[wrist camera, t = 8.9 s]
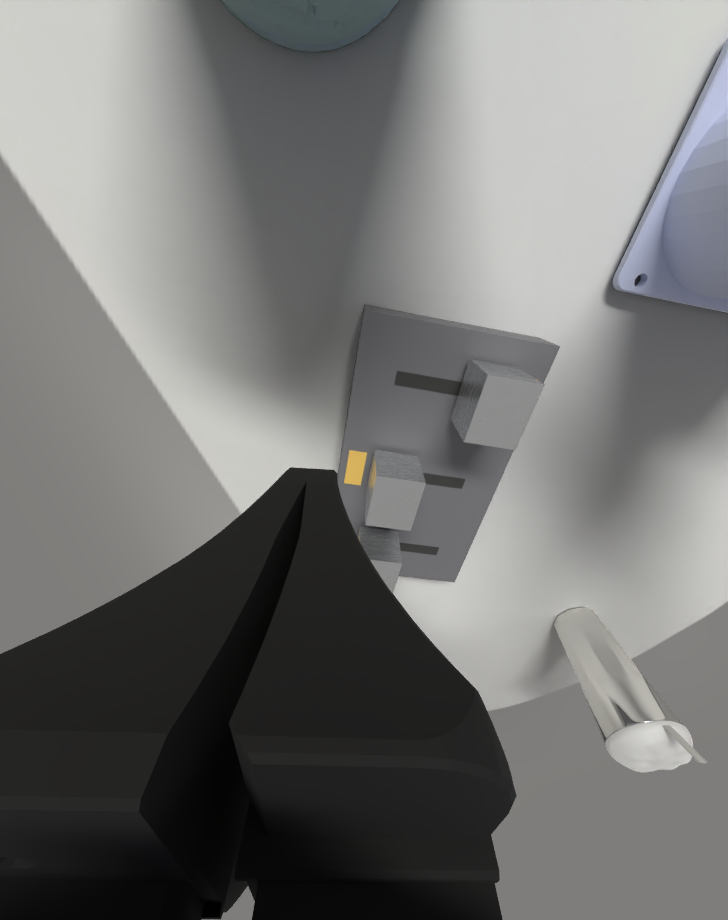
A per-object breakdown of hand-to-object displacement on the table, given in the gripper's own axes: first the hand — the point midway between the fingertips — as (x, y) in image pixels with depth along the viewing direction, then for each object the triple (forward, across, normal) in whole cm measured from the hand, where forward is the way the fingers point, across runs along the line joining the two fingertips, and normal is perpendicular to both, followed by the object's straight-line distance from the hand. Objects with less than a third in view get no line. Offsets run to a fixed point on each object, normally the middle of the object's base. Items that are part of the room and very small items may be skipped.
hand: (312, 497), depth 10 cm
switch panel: (+9, -5, +4) cm, 11 cm away
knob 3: (+7, -7, -1) cm, 10 cm away
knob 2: (+7, -3, +8) cm, 11 cm away
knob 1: (+7, -3, +3) cm, 8 cm away
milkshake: (+9, -20, +17) cm, 28 cm away
